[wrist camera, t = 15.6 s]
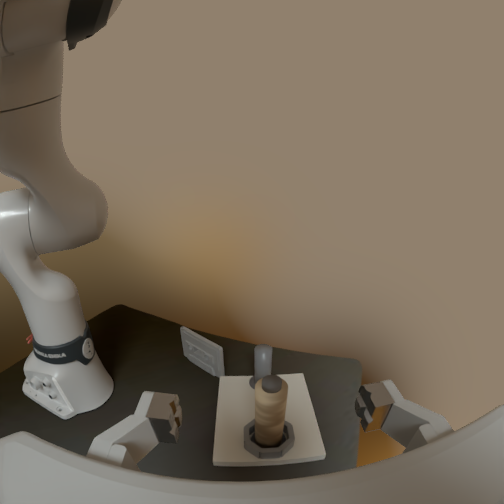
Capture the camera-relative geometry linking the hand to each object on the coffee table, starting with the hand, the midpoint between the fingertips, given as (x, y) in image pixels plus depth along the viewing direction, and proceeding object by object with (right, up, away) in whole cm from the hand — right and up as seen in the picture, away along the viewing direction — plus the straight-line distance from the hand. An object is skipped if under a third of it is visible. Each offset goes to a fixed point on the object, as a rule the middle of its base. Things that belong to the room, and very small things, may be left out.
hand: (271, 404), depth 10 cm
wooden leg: (+2, -21, +23) cm, 31 cm away
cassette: (-11, -18, +43) cm, 48 cm away
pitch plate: (+1, -21, +29) cm, 36 cm away
